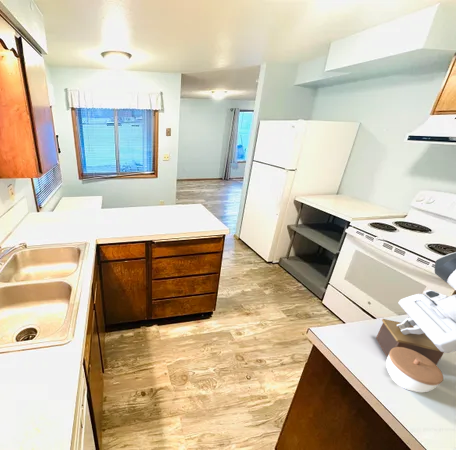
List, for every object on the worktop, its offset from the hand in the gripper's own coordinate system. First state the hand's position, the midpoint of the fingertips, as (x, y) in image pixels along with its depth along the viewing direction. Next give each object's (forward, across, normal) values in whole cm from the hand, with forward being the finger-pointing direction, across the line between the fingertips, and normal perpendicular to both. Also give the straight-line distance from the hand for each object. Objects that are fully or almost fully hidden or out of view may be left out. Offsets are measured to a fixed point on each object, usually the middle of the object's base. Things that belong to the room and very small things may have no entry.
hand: (399, 329), depth 77 cm
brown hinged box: (+4, 0, -9) cm, 10 cm away
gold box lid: (-1, 0, -3) cm, 3 cm away
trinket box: (+8, -11, -6) cm, 15 cm away
